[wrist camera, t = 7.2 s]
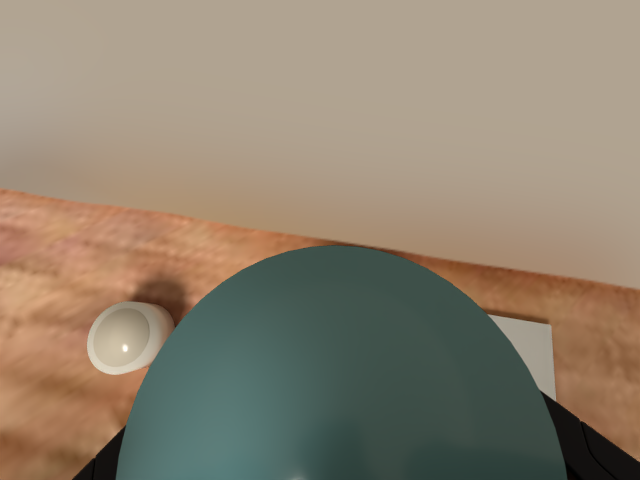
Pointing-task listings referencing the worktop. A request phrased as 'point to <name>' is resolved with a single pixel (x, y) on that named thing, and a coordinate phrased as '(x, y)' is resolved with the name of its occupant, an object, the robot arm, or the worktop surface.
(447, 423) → the teal cover
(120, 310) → the cream bowl
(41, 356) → the worktop surface
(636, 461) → the robot arm
